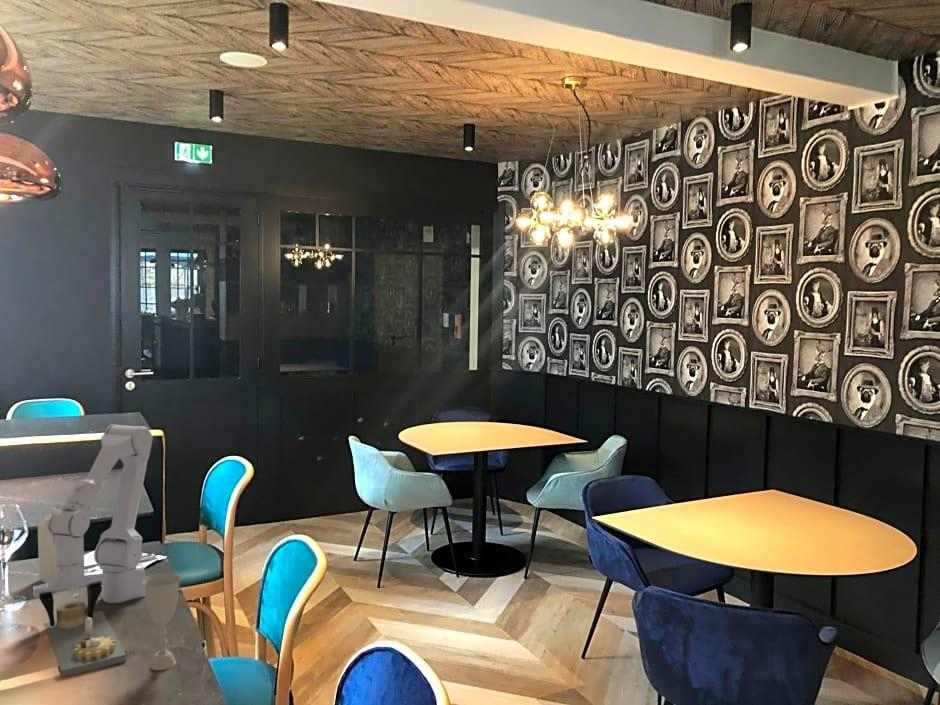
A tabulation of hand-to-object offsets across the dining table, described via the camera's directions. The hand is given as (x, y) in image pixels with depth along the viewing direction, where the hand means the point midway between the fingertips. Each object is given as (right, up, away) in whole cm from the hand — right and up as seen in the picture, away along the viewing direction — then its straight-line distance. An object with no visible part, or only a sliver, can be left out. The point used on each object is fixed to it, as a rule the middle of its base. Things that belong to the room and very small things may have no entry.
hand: (71, 620), depth 169 cm
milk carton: (-19, 0, +29) cm, 35 cm away
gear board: (+6, -3, -7) cm, 10 cm away
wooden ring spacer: (0, -1, 0) cm, 1 cm away
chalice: (+27, -4, -15) cm, 31 cm away
